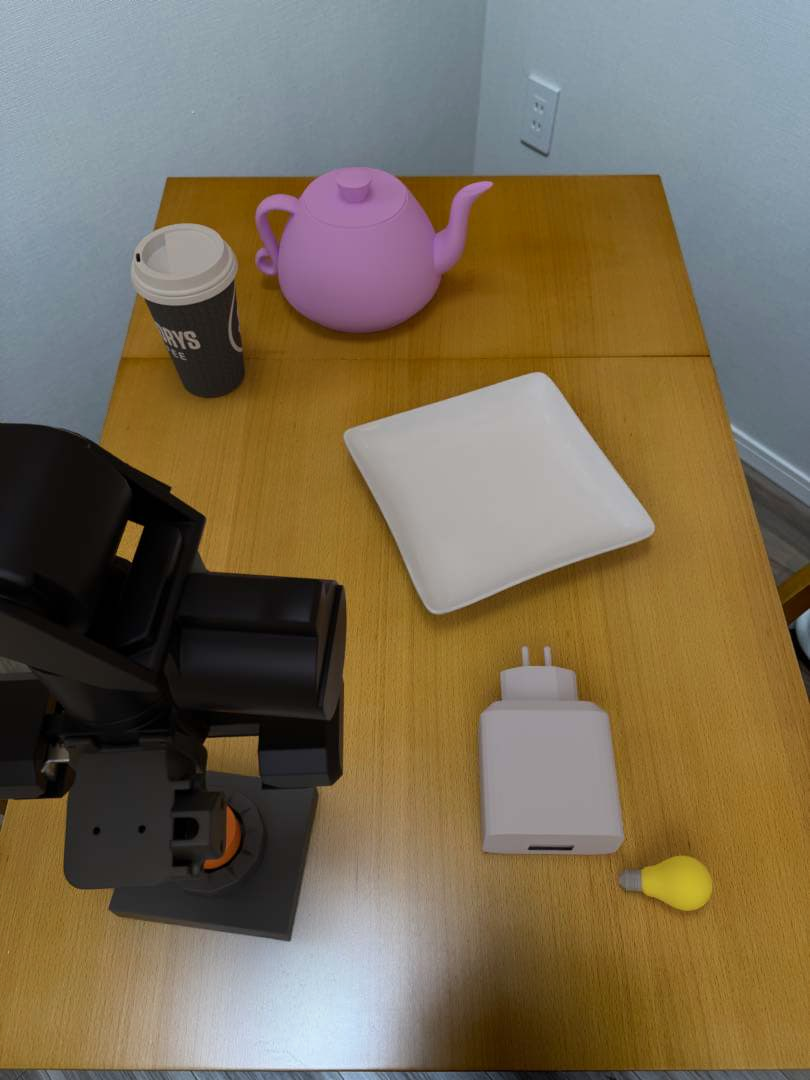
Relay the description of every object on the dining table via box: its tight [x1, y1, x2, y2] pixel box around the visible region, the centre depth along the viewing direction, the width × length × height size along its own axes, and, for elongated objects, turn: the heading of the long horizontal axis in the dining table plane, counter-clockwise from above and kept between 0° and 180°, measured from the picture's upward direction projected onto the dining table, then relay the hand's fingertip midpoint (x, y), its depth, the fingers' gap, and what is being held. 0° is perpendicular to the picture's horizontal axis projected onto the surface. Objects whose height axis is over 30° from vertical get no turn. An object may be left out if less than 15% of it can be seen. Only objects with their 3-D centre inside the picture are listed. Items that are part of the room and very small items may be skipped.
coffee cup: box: [130, 222, 246, 399], centre depth 81 cm, size 10×10×15 cm
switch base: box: [107, 769, 320, 942], centre depth 59 cm, size 12×10×4 cm
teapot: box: [254, 166, 494, 334], centre depth 89 cm, size 25×18×14 cm
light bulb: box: [618, 854, 714, 912], centre depth 57 cm, size 3×6×4 cm, turn 84°
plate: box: [342, 371, 656, 616], centre depth 76 cm, size 21×21×3 cm
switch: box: [204, 806, 241, 869], centre depth 56 cm, size 4×4×2 cm
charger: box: [477, 646, 626, 856], centre depth 62 cm, size 5×9×15 cm
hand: (199, 782), depth 51 cm, fingers open, 9 cm apart
